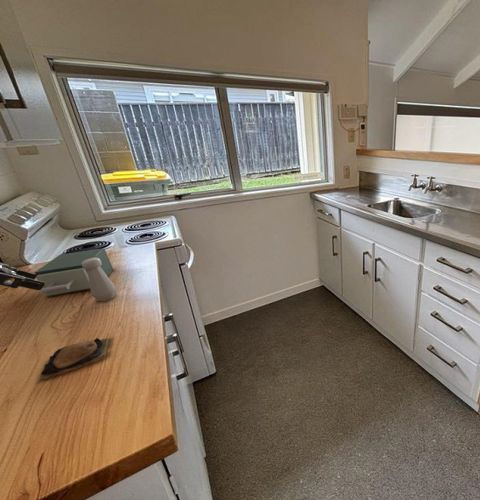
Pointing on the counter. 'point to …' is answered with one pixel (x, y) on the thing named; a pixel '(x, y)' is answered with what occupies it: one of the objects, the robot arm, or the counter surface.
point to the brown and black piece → (75, 357)
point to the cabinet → (76, 263)
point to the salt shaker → (98, 280)
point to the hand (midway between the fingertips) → (38, 282)
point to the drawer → (64, 281)
